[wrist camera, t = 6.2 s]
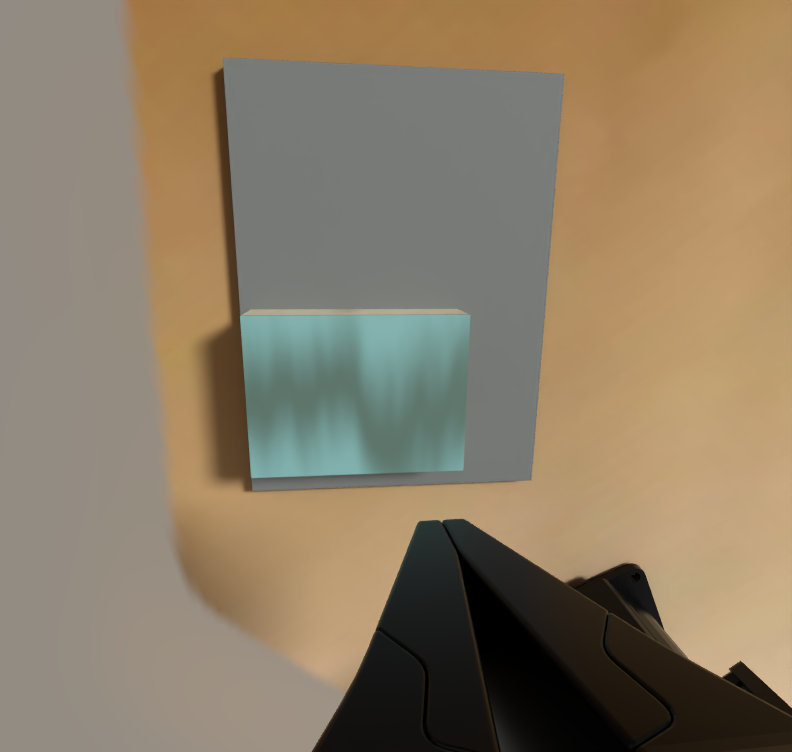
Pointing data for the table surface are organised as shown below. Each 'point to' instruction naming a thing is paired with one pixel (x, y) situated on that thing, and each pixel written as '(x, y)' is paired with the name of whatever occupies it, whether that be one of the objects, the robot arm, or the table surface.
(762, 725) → the robot arm
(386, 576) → the table surface
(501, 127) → the mat
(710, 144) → the table surface
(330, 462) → the tile
